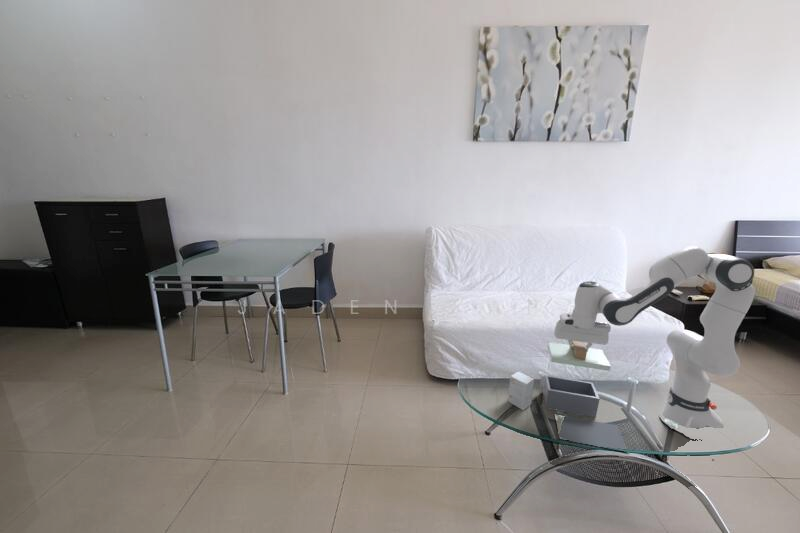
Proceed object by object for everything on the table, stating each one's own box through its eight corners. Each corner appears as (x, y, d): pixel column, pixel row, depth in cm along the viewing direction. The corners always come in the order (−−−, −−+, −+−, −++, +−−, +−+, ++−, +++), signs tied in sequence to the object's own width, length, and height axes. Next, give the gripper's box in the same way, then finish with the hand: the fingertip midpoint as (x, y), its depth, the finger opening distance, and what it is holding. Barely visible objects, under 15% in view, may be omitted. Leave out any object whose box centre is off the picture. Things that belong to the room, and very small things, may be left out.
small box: (531, 404, 157) (534, 379, 153) (523, 410, 153) (526, 384, 149) (515, 395, 163) (518, 370, 159) (507, 401, 159) (510, 375, 155)
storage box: (589, 400, 161) (592, 382, 159) (595, 417, 150) (599, 398, 147) (542, 391, 166) (545, 374, 164) (545, 407, 155) (548, 389, 153)
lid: (601, 354, 155) (603, 341, 153) (609, 370, 142) (612, 357, 140) (547, 346, 160) (549, 334, 159) (551, 362, 148) (553, 348, 146)
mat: (616, 426, 145) (617, 425, 145) (628, 453, 131) (629, 452, 131) (553, 414, 151) (554, 413, 151) (559, 439, 137) (559, 438, 137)
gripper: (609, 320, 147) (603, 350, 150) (556, 313, 152) (551, 343, 156) (613, 326, 141) (607, 357, 145) (558, 319, 146) (553, 349, 150)
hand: (578, 350), depth 150 cm, fingers closed on lid, 4 cm apart
